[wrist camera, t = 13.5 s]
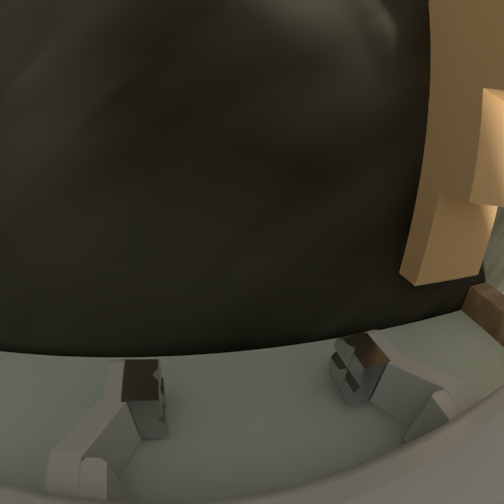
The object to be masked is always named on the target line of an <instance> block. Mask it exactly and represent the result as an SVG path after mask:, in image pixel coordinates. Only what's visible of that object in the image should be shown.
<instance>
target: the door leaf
mask: <svg viewBox="0 0 504 504" xmlns="http://www.w3.org/2000/svg"><path fill="white" fill-rule="evenodd" d="M378 331H380V332H381V333H382V334H383V335H384V337H385V338H386V339H387V340H388V341H389V342H390V343H391V345H392V346H393V347H394V348H395V349H396V350H397V351H398V353H399V354H400V355H401V356H402V357H408V358H410V359H413V360H415V361H417V362H420V363H422V364H424V365H427V366H429V367H432V368H434V369H436V370H439V371H441V372H444V373H446V374H448V375H451V376H453V377H456V378H458V379H460V380H461V381H462V382H463V383H464V384H465V385H466V387H467V388H468V389H469V390H470V391H471V392H472V393H473V394H474V396H475V397H476V398H477V399H478V400H479V401H481V400H483V399H484V398H485V397H487V396H488V395H490V394H491V393H493V392H494V391H495V390H497V389H498V388H499V387H501V386H502V385H503V384H504V347H503V346H502V345H501V344H499V343H498V342H497V341H496V340H495V339H494V338H493V337H492V336H491V335H489V334H488V333H487V332H486V331H485V330H484V329H483V328H482V327H480V326H479V325H478V324H477V323H476V322H475V321H473V320H472V319H471V318H470V317H469V316H468V315H466V314H465V313H464V312H463V311H462V310H459V311H456V312H452V313H449V314H445V315H441V316H437V317H434V318H430V319H426V320H422V321H418V322H413V323H409V324H405V325H401V326H396V327H392V328H387V329H382V330H378ZM336 340H337V338H335V339H329V340H323V341H317V342H310V343H304V344H297V345H290V346H282V347H274V348H266V349H257V350H248V351H238V352H227V353H215V354H202V355H186V356H165V357H69V356H49V355H35V354H22V353H12V352H2V351H0V480H1V481H4V482H8V483H11V484H15V485H18V486H22V487H26V488H30V489H35V490H39V491H45V482H46V474H47V466H48V460H49V453H50V451H51V450H52V449H53V447H54V446H55V445H56V444H57V443H58V442H59V441H60V440H61V439H62V438H63V437H64V436H65V435H66V434H67V433H68V432H69V431H70V430H71V429H72V428H73V426H74V425H75V424H76V423H77V422H78V421H79V420H80V419H81V418H82V417H83V416H84V415H85V414H86V413H87V412H88V411H89V410H90V409H91V408H92V407H93V406H94V404H95V403H96V402H102V397H103V390H104V383H105V376H106V370H107V364H108V362H109V360H126V359H159V361H160V365H161V377H162V378H163V380H164V386H165V393H166V403H167V408H166V409H165V410H166V414H167V418H168V430H169V437H154V438H141V441H140V443H139V444H138V446H137V447H136V449H135V451H134V452H133V454H132V456H131V457H130V459H129V460H128V462H127V464H126V465H125V467H124V468H123V470H122V472H121V473H120V475H119V476H118V479H119V480H120V481H121V483H122V484H123V485H124V487H125V488H126V489H127V490H128V492H129V493H130V494H131V495H132V502H182V501H197V500H208V499H217V498H225V497H232V496H239V495H245V494H251V493H256V492H262V491H267V490H271V489H276V488H281V487H285V486H289V485H293V484H297V483H301V482H304V481H308V480H312V479H315V478H318V477H322V476H325V475H328V474H331V473H334V472H337V471H340V470H343V469H346V468H349V467H352V466H355V465H357V464H360V463H362V462H365V461H368V460H370V459H373V458H375V457H377V456H380V455H382V454H385V453H387V452H389V451H391V450H394V449H396V448H398V447H400V446H402V445H404V444H406V443H405V442H404V440H403V437H404V435H405V434H406V432H407V431H408V430H409V428H410V426H408V425H407V424H405V423H404V422H402V421H400V420H399V419H397V418H396V417H394V416H392V415H391V414H389V413H388V412H386V411H384V410H383V409H381V408H380V407H378V406H377V405H375V404H374V403H372V402H370V400H368V401H364V402H361V403H357V404H354V405H350V406H348V404H347V403H346V401H345V399H344V398H343V396H342V394H341V393H340V390H341V386H340V385H338V384H336V383H334V381H333V379H332V377H331V374H330V371H329V362H330V358H331V356H332V355H333V354H334V353H335V352H336V350H335V348H334V344H335V341H336Z"/></svg>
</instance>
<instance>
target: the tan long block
mask: <svg viewBox="0 0 504 504" xmlns="http://www.w3.org/2000/svg"><path fill="white" fill-rule="evenodd" d="M428 3H429V17H430V45H431V64H430V93H429V108H428V120H427V131H426V140H425V148H424V155H423V163H422V169H421V176H420V182H419V187H418V193H417V198H416V204H415V209H414V213H413V218H412V223H411V227H410V232H409V236H408V240H407V244H406V248H405V252H404V256H403V260H402V264H401V267H400V271H399V273H400V274H401V275H402V276H403V277H405V278H406V279H407V280H408V281H409V282H411V283H412V284H413V285H414V286H419V285H425V284H431V283H436V282H442V281H448V280H453V279H459V278H464V277H469V276H475V275H478V273H479V270H480V267H481V264H482V261H483V258H484V255H485V252H486V249H487V245H488V242H489V239H490V235H491V231H492V228H493V224H494V220H495V216H496V212H497V208H498V206H499V207H504V0H429V1H428Z"/></svg>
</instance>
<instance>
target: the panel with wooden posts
mask: <svg viewBox="0 0 504 504" xmlns="http://www.w3.org/2000/svg"><path fill="white" fill-rule="evenodd" d="M461 310H462V311H463V312H464V313H465V314H466V315H468V316H469V317H470V318H471V319H472V320H473V321H475V322H476V323H477V324H478V325H479V326H480V327H482V328H483V329H484V330H485V331H486V332H487V333H488V334H489V335H491V336H492V337H493V338H494V339H495V340H496V341H497V342H498V343H499V344H501V345H502V346H503V347H504V295H503V294H502V293H500V292H499V291H498V290H496V289H495V288H493V287H492V286H491V285H489V284H488V283H486V282H485V283H481V284H477V285H473V286H470V288H469V290H468V293H467V296H466V298H465V301H464V303H463V306H462V308H461Z"/></svg>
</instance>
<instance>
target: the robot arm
mask: <svg viewBox="0 0 504 504" xmlns="http://www.w3.org/2000/svg"><path fill="white" fill-rule="evenodd" d="M334 348H335V350H336V352H335V353H334V354H333V355H332V356H331V358H330V362H329V371H330V374H331V377H332V379H333V381H334V383H336V384H338V385H340V386H341V390H340V393H341V394H342V396H343V398H344V399H345V401H346V403H347V404H348V406H350V405H354V404H357V403H361V402H364V401H368V400H370V402H372V403H374V404H375V405H377V406H378V407H380V408H381V409H383V410H384V411H386V412H388V413H389V414H391V415H392V416H394V417H396V418H397V419H399V420H400V421H402V422H404V423H405V424H407V425H408V426H410V428H409V430H408V431H407V432H406V434H405V435H404V437H403V440H404V442H405V443H406V444H404V445H402V446H400V447H398V448H396V449H394V450H391V451H389V452H387V453H385V454H382V455H380V456H377V457H375V458H373V459H370V460H368V461H365V462H362V463H360V464H357V465H355V466H352V467H349V468H346V469H343V470H340V471H337V472H334V473H331V474H328V475H325V476H322V477H318V478H315V479H312V480H308V481H304V482H301V483H297V484H293V485H289V486H285V487H281V488H276V489H271V490H267V491H262V492H256V493H251V494H245V495H239V496H232V497H225V498H217V499H208V500H197V501H182V502H132V495H131V494H130V493H129V492H128V490H127V489H126V488H125V487H124V485H123V484H122V483H121V481H120V480H119V479H118V476H119V475H120V473H121V472H122V470H123V468H124V467H125V465H126V464H127V462H128V460H129V459H130V457H131V456H132V454H133V452H134V451H135V449H136V447H137V446H138V444H139V443H140V441H141V438H154V437H169V430H168V418H167V414H166V410H165V409H166V408H167V403H166V393H165V386H164V380H163V378H162V377H161V365H160V361H159V359H126V360H109V362H108V364H107V370H106V376H105V383H104V390H103V397H102V402H96V403H95V404H94V406H93V407H92V408H91V409H90V410H89V411H88V412H87V413H86V414H85V415H84V416H83V417H82V418H81V419H80V420H79V421H78V422H77V423H76V424H75V425H74V426H73V428H72V429H71V430H70V431H69V432H68V433H67V434H66V435H65V436H64V437H63V438H62V439H61V440H60V441H59V442H58V443H57V444H56V445H55V446H54V447H53V449H52V450H51V451H50V453H49V460H48V466H47V474H46V482H45V491H39V490H35V489H30V488H26V487H22V486H18V485H15V484H11V483H8V482H4V481H1V480H0V504H504V384H503V385H502V386H501V387H499V388H498V389H497V390H495V391H494V392H493V393H491V394H490V395H488V396H487V397H485V398H484V399H483V400H481V401H479V400H478V399H477V398H476V397H475V396H474V394H473V393H472V392H471V391H470V390H469V389H468V388H467V387H466V385H465V384H464V383H463V382H462V381H461V380H460V379H458V378H456V377H453V376H451V375H448V374H446V373H444V372H441V371H439V370H436V369H434V368H432V367H429V366H427V365H424V364H422V363H420V362H417V361H415V360H413V359H410V358H408V357H402V356H401V355H400V354H399V353H398V351H397V350H396V349H395V348H394V347H393V346H392V345H391V343H390V342H389V341H388V340H387V339H386V338H385V337H384V335H383V334H382V333H381V332H380V331H378V330H376V329H375V330H371V331H366V332H363V333H358V334H353V335H348V336H344V337H339V338H337V340H336V341H335V344H334Z"/></svg>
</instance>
